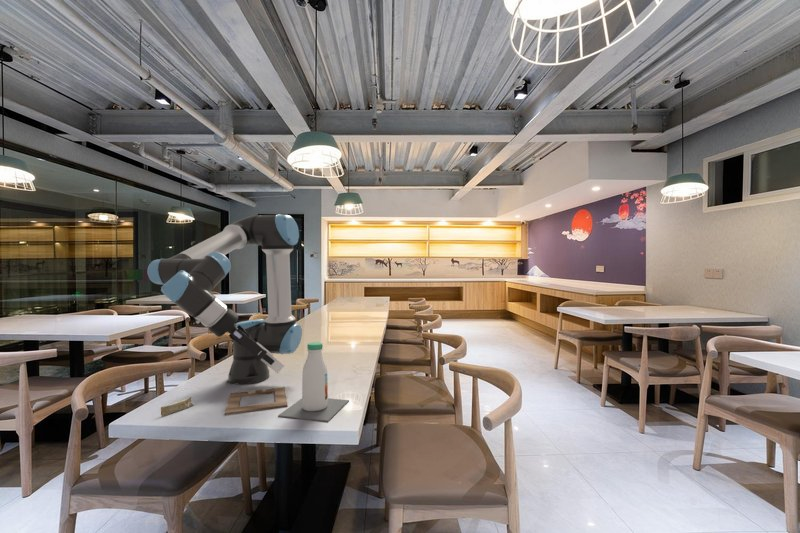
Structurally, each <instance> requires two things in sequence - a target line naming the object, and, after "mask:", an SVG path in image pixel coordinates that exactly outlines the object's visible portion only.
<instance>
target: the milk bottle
mask: <svg viewBox="0 0 800 533" xmlns="http://www.w3.org/2000/svg"><path fill="white" fill-rule="evenodd" d="M306 347H307V357H306V359H305V362H304V364H303V367H302V375H301V376H302V379H301V383H302V384H301V390H302V392H301V399H302V407H303V409H304V410H306V411H320V410H323V409H325V408H326V407H327V403H328V398H329V397H328V391H329V390H328V385H329V384H328V367H327V364H326V361H325V359H324V357H323V353H322V352H323V348H324V347H323V343H322V342H317V341H315V342H308V343H307V346H306Z"/></svg>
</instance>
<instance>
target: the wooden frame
mask: <svg viewBox="0 0 800 533" xmlns="http://www.w3.org/2000/svg"><path fill="white" fill-rule="evenodd" d="M269 394H274V399H275V402H273V401H272V402H266V403H260V404H252V405H244V406H240V402H241V398H244V397H250V396H252V397H253V396H259V395H269ZM226 404H227V405H226V408H225V412H224V415H225V416H228V415H234V414H242V413H248V412H256V411H258V412H259V411H263V410H271V409H278V408H284V407H285V408H286V407H288V400H287V393H286V387H285V386H282V387H281V386H280V387H271V388H263V389H255V390H253V389H252V390H247V391H238V392H237V391H236V392H230V394H229V397H228V400H227V403H226ZM227 414H228V415H227Z"/></svg>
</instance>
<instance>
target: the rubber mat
mask: <svg viewBox="0 0 800 533" xmlns="http://www.w3.org/2000/svg"><path fill="white" fill-rule="evenodd" d="M349 402H350V400H349V399H339V398H329V397H328V403H327V407H326V408H325V409H323V410H320V411H306V410H304V409H303V407H302V398H300V399H299V400H297V401H296V402H294V403H293V404H292V405H291V406H289V407H288V408H287V409H285V410H284V411H282V412H281V413H280V414H278V415H277V416H278V418H280V417H281V418H288V419H298V420H305V421H306V420H307V421H313V422H314V421H316V422H325V423H329V422H330V420H332V419H333V418H334V417H335V416H336V415H337V414H338V413H339V412H340V411H341V410H342V409H343V408H344V407H345V406H346V405H347V404H348V403H349Z"/></svg>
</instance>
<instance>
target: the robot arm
mask: <svg viewBox="0 0 800 533" xmlns="http://www.w3.org/2000/svg"><path fill="white" fill-rule="evenodd" d="M299 239H300V232H299V226H298V224H297V222H296V221H295V219H294V217H292V216H291V215H290V214H289V215H288V214H281V213H278V214H264V215H263V214H261V215H258V214H256V215H249V216H247V217H244V218H241V219H239V220H237V221H234V222H232V223H230V224H228V225H226V226H225V227H224V228H223V230H222V231H220V232H219V233H217V234H215V235H213V236H210V237H209V238H207V239H205V240H203V241H200V242H198V243H197V244H195V245H193V246H191V247H189V248H188V249H185V250H183V251H181V252H180V253H178V254H176V255H173V256H171V257H169V258H160V259H158V258H157V259H154V260H152V261H151V262H150V263H149V265H148V267H147V269H146V270H147V276H148V279H149V280H150V282H152V283H153V284H156V285H162V286H161V287H160V288H161V289H160V292H161V293H162V294H163V295H164V296H165V297H166V298H167V299H169V300H170V301H171V302H172V303H173V304H175V305H176V306H177V307H179V308H180V309H182V310H183V311H184V312H185V313H187V314H188V315H189V316H191V317H193V319H194V320H195V324H197V325H199V324H200V323H201V325H202V326H204V327H208V330H209V331H210V332H211V333H212V334H214V335H215V336H216V337H222V336H224V335H225V334H226V333H229V335H228V336H229V338H230V339H231V340H232V363H231V366H230V369H229V373H228V374H227V376H228V377H227V381H228V382H229V383H230V384H233V385H234V384H235V385H248V384H255V383H258V382H263V381H265V380H268V378H269V377H270V369H271V370H273V371H274V372H275V373H276V374H279V373H280V372H281V370H282V369H283V368H284V367H285V365H284V364H283V363H282V362H281V361H280V360H278V359H277V358H276V357H275V356H274V354H276V355H277V354H280V355H286V354H287V355H290V354H293V353H295V352H296V351H297V350H298V348H299V347H300V346H299V345H300V344H301V341H302V336H303V329H302V326H301V325H300V324H299V323H298V322H296V317H295V316H294V315H293V314H292V291H291V290H292V288H291V286H292V285H291V259H290V254H291V253H292V252H293V251H294V246H295V245H297V244H298V242H299ZM248 246H261V250H262V252H263V253H265V258H266V259H265V260H266V285H267V290H266V291H267V313H268V315H267V317H266V318H265V319H264V318H256V319H250V320H249V319H248V320H243V321H239V322H238V320H239V315H238V313H236V311H233V310H232V309H231V308H228V306H227V304H226V303H224V302H223V301H222V300H221V299H219V297H217V296H216V295H214V294H213V293H212V291H213V290H214V289H215V288H216V287H217V286H218V284H219V283H220V282H221V281H222V280H224V279H225V278H226V276H227V275H228V274H229V272H230V271H231V269H232V265H231V261H230V259H229V258H228V257H227V256H226V255H227V254H229V253H231V252H233V251H235V250H241V249H243V248H245V247H248ZM269 368H270V369H269Z"/></svg>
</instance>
